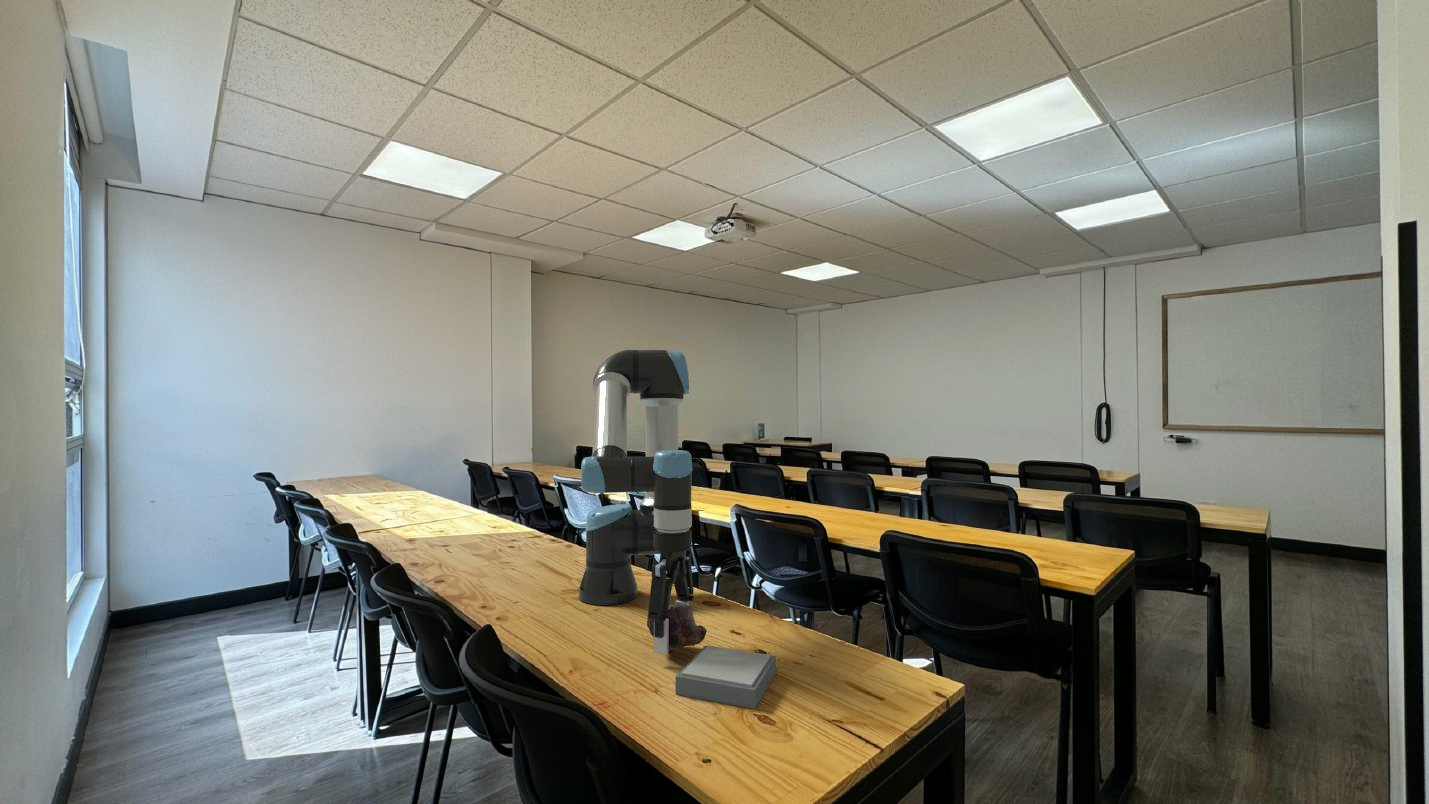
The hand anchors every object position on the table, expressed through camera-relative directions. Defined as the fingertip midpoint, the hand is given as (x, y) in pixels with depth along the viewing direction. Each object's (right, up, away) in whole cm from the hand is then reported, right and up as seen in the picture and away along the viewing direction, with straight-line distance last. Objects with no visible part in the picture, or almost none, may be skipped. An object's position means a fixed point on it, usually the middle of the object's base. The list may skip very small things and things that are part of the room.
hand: (671, 642), depth 113 cm
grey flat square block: (+11, -2, -12) cm, 16 cm away
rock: (0, -1, 0) cm, 1 cm away
